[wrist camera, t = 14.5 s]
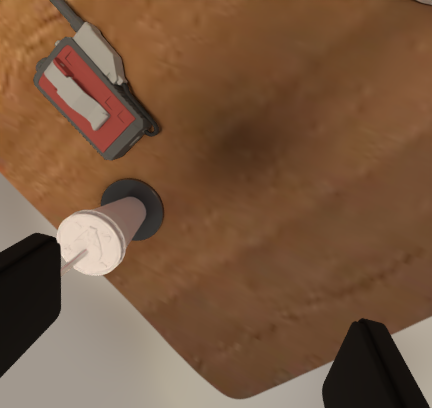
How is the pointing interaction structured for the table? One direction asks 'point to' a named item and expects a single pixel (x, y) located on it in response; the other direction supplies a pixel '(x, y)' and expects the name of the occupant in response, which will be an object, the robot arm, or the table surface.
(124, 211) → the smoothie
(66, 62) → the walkie-talkie
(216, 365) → the table surface
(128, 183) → the coaster
